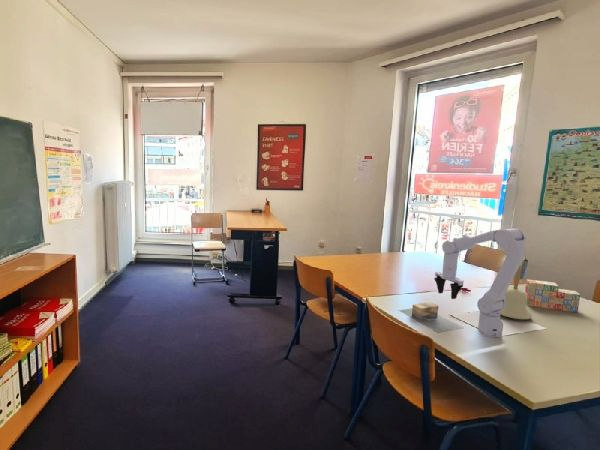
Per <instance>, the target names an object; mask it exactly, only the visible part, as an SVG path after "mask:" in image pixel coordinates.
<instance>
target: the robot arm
mask: <svg viewBox="0 0 600 450" xmlns="http://www.w3.org/2000/svg"><path fill="white" fill-rule="evenodd" d="M526 239H527V238H526V236H525V234H524V233H523V231H522V229H520V228H517V227H512V228H500V229H494V230H490V231H487V232H483V233H481V234H478V235H474V236H473V235H470V234H463V235H462V236H461V237H454V238H452V240H451V239H450V240H445V241H444V242H443V243H442V245H441V248H442V251H443V260H442V261H443V262H442V263H443V264H442V272H440V271H435V272H434V279H433V280H434V281H435V283H436V287H437V292H438V294H443V293H444V289H445V283H446V282H447V281H448V282H452V283H450V284H449V285H450V289H451V290H450V291H451V292H450V293H451V294H450V298H451V300H455V299H457V297H458V294H459V292H460V291H461V289H462V288H463V287H464V282H465V281H464V280H463V279H460V278H459V277H457V268H458V262H459V261H458V260H459V257H460V255H459V254H460V253H461V252H464V251H467V250H471V249H474V248H475V247H476V245H478V244H482V243H486V242H490V241H491V242H492V243H496V244H497V245H498V246H499V247H500V248H501V250H503V251H504V253H505V255H506V256H505V259H504V260H503V262H502V265H501V267H500V268H499V270H498V272H497V274H496V275H495V278H494V281H493V282H492V284H491V286H490V288H489V289H488V290H487V291H486V292H485V293H484V294H483V296H482V297H481V298H479V299H478V300H477V303H476V306H477V309H478V310H479V316H478V323H477V324H478V325H477V330H478V331H479V332H481V334H483V335H484V336H485V337H488V338H492V337H493V338H503V337H502V336H503V330H504V323H503V321H502V320H501V314H500V313H501V310H502V309H503V308H504V306H505V299H506V296H505V293H506V291H507V289H508V288H510V285H511V283H512V281H513V280H514V276H515V274H516V272H517V270H518V268H519V266H520V264H522V262H523V261H524V258H525V255H526V253H525V251H526V249H525V242H526Z"/></svg>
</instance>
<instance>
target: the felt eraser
mask: <svg viewBox="0 0 600 450" xmlns="http://www.w3.org/2000/svg"><path fill="white" fill-rule="evenodd" d="M438 315H439V305H437V304H435V303H434V302H431V301H428V302H422V303H421V302H420V303H413V304H412V316H414V317H416V318H418V319H419V320H421V319H427V318H433V317H437V316H438Z"/></svg>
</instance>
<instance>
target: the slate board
mask: <svg viewBox="0 0 600 450" xmlns="http://www.w3.org/2000/svg"><path fill="white" fill-rule="evenodd" d="M412 308H413V307H412ZM412 308H406V309H399V310H398V311H399V312H401V313H403V314H404V315H405V316H408V317H409V318H411V319H413V320H414V321H416V322H418V323H420V324H422V325H423V326H425V327H427V328H429V329H430V330H432V331H433V332H436V333H437V334H439V333H444V332H449V331H450V332H451V331H456V330H460V329H464V327H463V326H461V325H459V324H458V323H455V322H453V321H451V320H449V319H447V318H445V317H443V316H442V315H440V314H438V316H437V317H433V318H427V319H421V320H419V319H418V318H416V317H414V316H412Z"/></svg>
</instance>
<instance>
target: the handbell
mask: <svg viewBox="0 0 600 450" xmlns="http://www.w3.org/2000/svg"><path fill="white" fill-rule="evenodd" d="M521 264H522V263H521ZM521 264H520V266H519V268H518V270H517V272H516V274H515V276H514V277H513V287H508V289H507V291H506V293H505V296H506V299H505V306H504V308H503V309H502V310H501V313H500V316H503V317H507V318H511V319H516V320H529V319H532V317H533V314H532V313H531V312H530V310H529V309H528V308H527V305H526V294H525V291H523V290H522V289H520V288H519V284H520V281H521V274H522V273H521V272H522V265H521Z"/></svg>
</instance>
